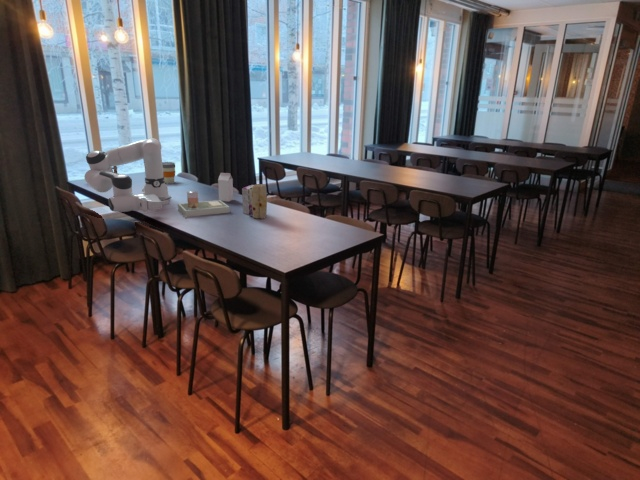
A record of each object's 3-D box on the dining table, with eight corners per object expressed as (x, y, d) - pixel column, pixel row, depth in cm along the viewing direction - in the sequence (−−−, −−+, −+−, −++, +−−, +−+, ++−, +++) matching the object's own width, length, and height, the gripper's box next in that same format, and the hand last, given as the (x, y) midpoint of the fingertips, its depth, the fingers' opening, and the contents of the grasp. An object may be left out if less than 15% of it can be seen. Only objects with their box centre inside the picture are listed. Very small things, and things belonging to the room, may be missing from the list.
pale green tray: (178, 211, 256) (177, 203, 254) (220, 207, 268) (220, 200, 267) (185, 218, 241) (185, 211, 240) (229, 214, 254) (229, 206, 252)
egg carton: (208, 208, 260) (207, 201, 259) (217, 207, 263) (217, 201, 262) (212, 212, 252) (212, 205, 251) (222, 211, 255) (222, 204, 254)
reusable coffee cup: (161, 180, 339) (160, 162, 334) (178, 181, 340) (176, 162, 336) (157, 183, 327) (156, 164, 322) (174, 184, 329) (173, 164, 324)
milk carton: (229, 203, 279) (228, 174, 273) (218, 202, 280) (217, 173, 274) (233, 200, 285) (232, 172, 279) (223, 199, 287) (222, 171, 281)
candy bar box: (251, 210, 263) (251, 184, 258) (258, 211, 261) (258, 185, 256) (242, 214, 253) (241, 187, 248) (249, 216, 251) (249, 188, 246)
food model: (262, 215, 253) (262, 182, 247) (269, 218, 249) (269, 184, 242) (249, 218, 247) (248, 184, 240) (256, 220, 242) (255, 186, 236)
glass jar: (187, 211, 252) (185, 191, 249) (197, 210, 255) (196, 190, 252) (189, 213, 247) (188, 193, 244) (200, 212, 250) (199, 192, 247)
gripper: (139, 203, 244) (164, 201, 251) (144, 212, 228) (171, 209, 234) (137, 192, 242) (163, 191, 249) (143, 200, 226) (170, 198, 232)
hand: (167, 200), depth 242 cm, fingers open, 8 cm apart
